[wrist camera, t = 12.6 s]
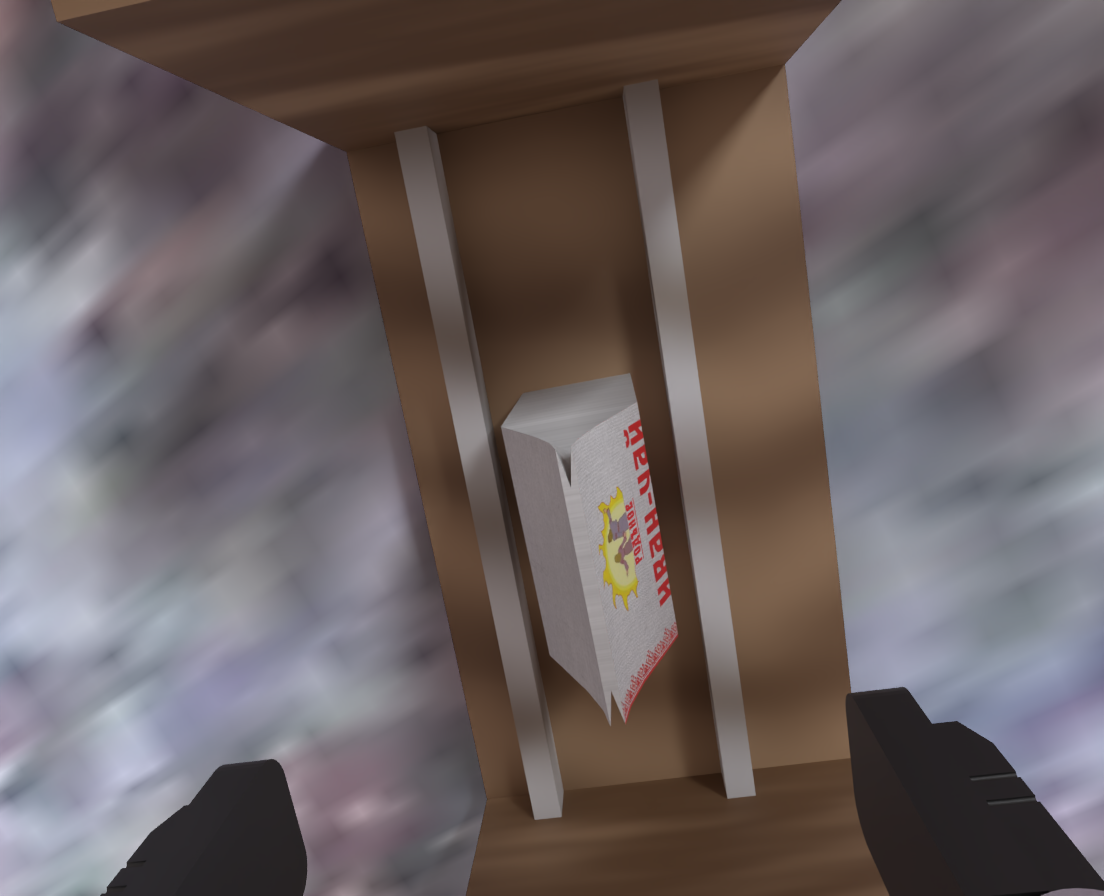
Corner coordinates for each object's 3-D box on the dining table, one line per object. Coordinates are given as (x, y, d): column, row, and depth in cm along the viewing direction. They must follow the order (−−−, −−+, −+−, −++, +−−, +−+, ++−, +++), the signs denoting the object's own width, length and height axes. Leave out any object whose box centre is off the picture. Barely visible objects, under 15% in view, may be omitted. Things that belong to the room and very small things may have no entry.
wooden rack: (350, 111, 27) (26, -87, 12) (769, 25, 26) (1008, -324, 10) (499, 807, 32) (408, 1275, 17) (849, 768, 31) (1081, 1239, 16)
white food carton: (560, 576, 29) (537, 737, 19) (522, 393, 27) (477, 463, 17) (663, 560, 28) (694, 715, 18) (630, 372, 27) (644, 433, 17)
